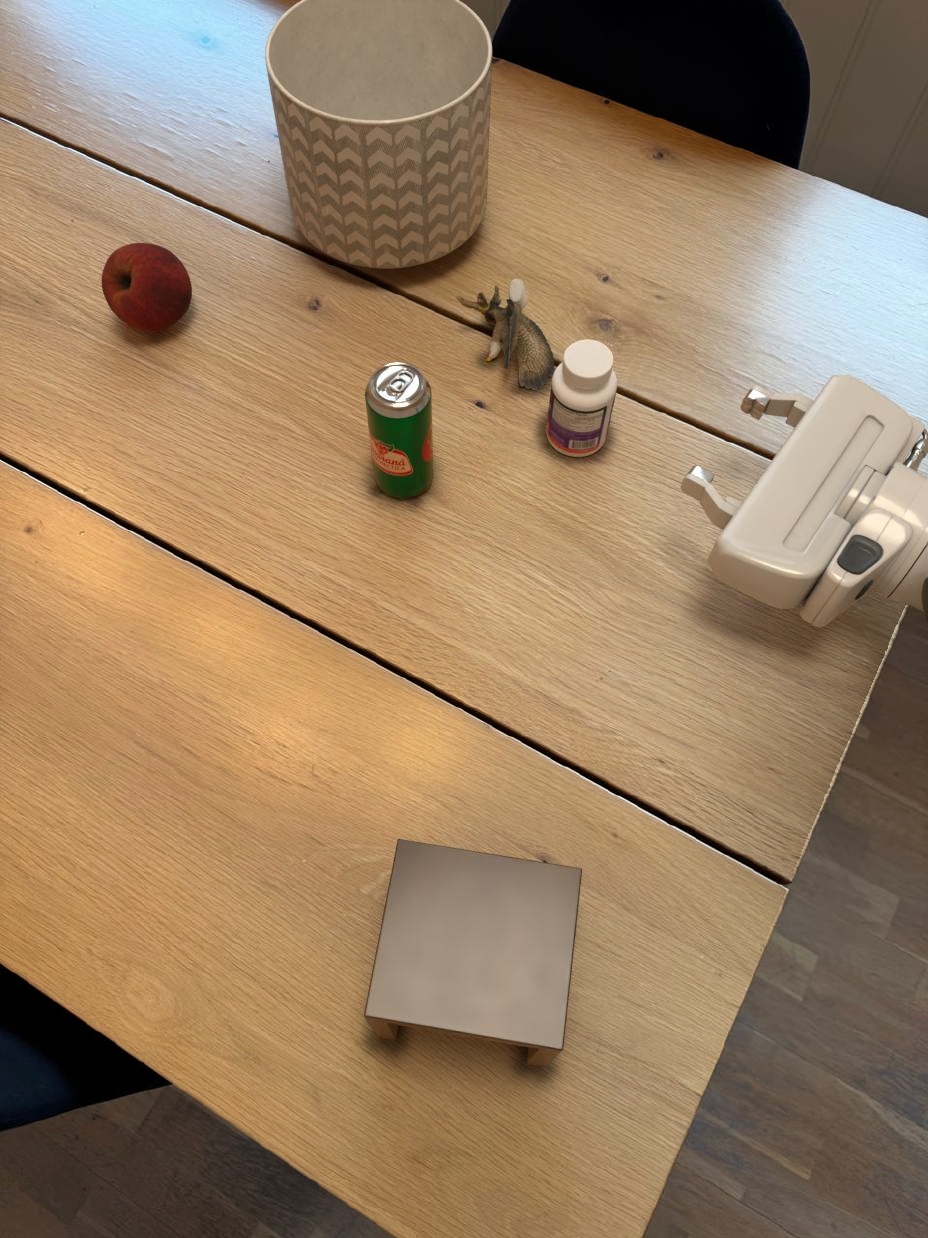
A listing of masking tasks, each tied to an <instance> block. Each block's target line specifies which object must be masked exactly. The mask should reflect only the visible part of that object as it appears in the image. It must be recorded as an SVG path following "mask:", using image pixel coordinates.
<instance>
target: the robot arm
mask: <svg viewBox="0 0 928 1238" xmlns="http://www.w3.org/2000/svg"><path fill="white" fill-rule="evenodd" d="M739 409H740V410H741V411H742V413H743V414H746V415H750V417H752V418H753V419H755V420H757V421H760V420H761V418H762V417H763V416H764V415H766V416H772V417H773V416H775V417H781V418H786V419H785V424H787V425H788V426H790V427H792V428H793V430H792V432H791V433H790V434H789V436H788V437H787V439H785V441H784V443H783V444H782V445H781V447H780V449H779V450H778V452H777V453H776V454H775V455H774V457H773V458H772V460H771V461H770V463H769V464H768V466H767V467H766V468H765V470H764V471H763V472H762V474H761V475H760V477H759V478H758V480H757V481H756V482H755V484H754V485H753V486H752V488H751V489H750V491H749V492H748V494H747V495H746V497H745V498H744V500H743V501H742V502H741V501H739V500H737V499H736V498H734V497H731V496H727V497H726V498H725V500H724V499H723V497H722V496H721V494H720V493H719V492H718V491H717V489H716V488H715V486H714V485H713V484H712V483H713V481H714V478H715V474H714V473H712V472H710V471H709V470H704V469H703V467H701V466H700V465H696V464H694V465H692V467H691V468H690V470H689V471H688V472H687V473H686V475H685V476H684V478H683V479H682V482H681V484H680V490H681V491H682V492H683V493H684V494H686V495H687V496H689V497H691V498H693V499H695V500H696V501H698V502H699V505H700V506H701V508H702V509H703V511H704V513H705V514H706V516H707V517H708V519H709V520H710V522H711V524H712V525H713V526H715V527H717V528H719V529H720V530H721V533H720V534H719V535H718V537H717V538H716V540H715V542H714V544H713V546H712V547H711V550H710V553H709V554H708V558H707V563H708V566H709V568H710V570H711V572H712V575H714V576H715V578H717V579H718V580H720V581H721V582H723V583H724V584H726V585H728V586H729V587H732V588H733V589H735V590H737V591H739V592H740V593H743V594H744V595H746V596H748V597H751V598H753V599H754V600H756V601H758V602H760V603H762V604H765V605H768V606H770V607H773V608H776V609H780V610H792V609H795V608H797V607H799V606H800V609H799V615H800V617H801V618H802V620H804V621H805V622H807V623H808V624H811V625H812V626H813V627H816V628H823V627H825V626H827V625H829V624H830V623H831V622H833V621H834V620H835V619H836V618H838V617H839V616H840V615H841V614H843V613H844V612H846V611H847V610H849V608H851V607H853V606H854V604H856V603H857V602H859V601H860V600H861V599H863V598H864V597H865V596H867V595H868V594H870V592H875V593H876V594H878V595H879V596H882V597H883V598H886V599H887V600H889V601H891V602H895V603H898V604H902V605H906V606H910V607H912V608H914V609H916V610H918V611H920V612H922V613H923V614H924V617H925V619H926V622H927V623H928V476H927V475H925V474H923V473H921V472H919V471H918V470H919V467H920V465H921V463H922V461H923V460H924V459H925V458H926V456H927V455H928V431H927V429H926V425H925V424H924V423H923V422H922V421H921V420H920V419H917V418H916V417H914V416H912V415H911V414H910V415H909V413H908V412H907V411H906V410H905V409H904V408H902V407H901V406H900V405H898V404H897V403H896V402H895V401H893V400H892V399H890V398H889V397H888V396H886V395H885V394H883V393H881V392H880V391H878V390H877V389H875V388H874V387H872V386H870V385H868V384H867V383H865V382H863V381H862V380H860V379H858V378H857V377H854V376H852V375H849V374H834V375H832V376H830V377H829V378H828V380H827V381H826V382H825V384H824V386H823V387H822V388H821V390H820V392H819V393H818V394H817V396H816V397H815V399H814V400H813V399H811V398H809V397H807V396H806V395H804V394H802V393H786V392H785V393H784V392H783V393H782V392H780V393H779V392H774V393H773V392H771V391H769V390H767V389H765V388H763V387H761V386H760V385H752V386H751V388H750V389H749V390H748V392H747V393H746V394H745V396H744V397H743V399H742V401H741V403H740V408H739ZM921 436H922V438H920V437H921Z"/></svg>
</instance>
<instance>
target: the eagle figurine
mask: <svg viewBox="0 0 928 1238" xmlns="http://www.w3.org/2000/svg"><path fill="white" fill-rule="evenodd" d="M526 289H527V288H526V286H525V283H524V282H523V280H521V279H520V278H513V279H511V281H510V282H509V283H508V298H507V299H506V304H507V305H506V307H501V306H500V305H501V304H502V301H503V299H502V298H501V297H500V288H499V286H498V285H497V284H495V285H494V294H493V296H492V298H490V301H489V303H488V300H487V298H486V296H485V294H484V293H483V292H478V293H477V296H476V301H471V300H468V299H465V298H464V297H462V296H460V295H458V296H456V300H457V301H458V302H459V303H460V305H462V306H463V307H465V308H467V309H473V310H474V311H476V312H478V313H480V314H481V315H482V316H484V320H485V321H486V323H488V324H489V325H491V326H492V327H494V328H493V331H492V335H491V342H490V346H489V351H488V357H487V358H486V359H485V361H486V362H491V361H492V360H493V359H495V358H497V357H498V356H499V354H500V352H501V350H502V349H503V354H504V363H503V368H504V370H505V371H507V370H508V369H509V367H510V359H511V354H512V353H513V351H514V352H515V355H516V359H517V363H518V383H519V384H518V385H519V386H520V387H525V389H526V390H533V391H538V389H539V390H542V389H543V388H544V385H547V384H548V383H549V377H550V378H551V377H553V374H552V373H554V372H555V358H554V352H553V351H552V347H551V345H550V344H549V342H548V339H547V338H546V336H545V334H544V332H543V331H542V329H541V328H540V327H539V325H537V323H536V322H535V321H533V320H532V319H531V318H529V317H527V316H526V315H525V314H524V313H523V311H522V310H523V309H525V307H526V306H527V305H528V302H529V300H528V295H527V290H526Z"/></svg>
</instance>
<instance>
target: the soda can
mask: <svg viewBox="0 0 928 1238" xmlns="http://www.w3.org/2000/svg"><path fill="white" fill-rule="evenodd" d="M432 397H433V396H432V387H431V385H430V383H429V381H428V380H427V378H426V377H425V374H424V373H423V372H422V371H421V370H420V369H419V368H417V366H415V365H413V364H411V363H407V362H401V361H397V362H396V361H394V362H389V363H386V364H383V365H381V366H379V367H378V368H377V369H376V370H374V371H373V373H372V374H371V375H370V378H369V381H368V383H367V384H366V387H365V391H364V401H365V409H366V418H367V426H368V434H369V436H368V437H369V442H370V452H371V460H372V469H373V477H374V481H375V484H376V485H377V487H378V488H379V489H380V490H381V491H382V492H383V493H385V494H387V495H389V496H390V497H394V498H399V499H403V498H404V499H405V498H412V497H415V496H418V495H420V494H422V493H423V492H425V491H426V490H427V489H428V488H429V486H430V485H431V484H432V482H433V479H434V473H435V471H434V442H433V441H434V437H433V436H434V435H433V401H432V399H433V398H432Z"/></svg>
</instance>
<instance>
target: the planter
mask: <svg viewBox="0 0 928 1238" xmlns="http://www.w3.org/2000/svg"><path fill="white" fill-rule="evenodd" d="M265 42H266V43H265V48H264V61H265V69H266V74H267V79H268V84H269V91H270V97H271V102H272V109H273V115H274V119H275V125H276V133H277V137H278V142H279V143H278V144H279V149H280V155H281V159H282V166H283V170H284V178H285V185H286V189H287V195H288V201H289V206H290V207H289V208H290V212H291V215H292V219H293V220H294V223H295V226H296V227H297V229H298V231H300V233H301V234H302V236H303V237H304V238H305V239H306V240H307V241H308V242H309V243H310V244H311V245H312V246H314V247H315V248H316V249H318V250H319V251H321V252H322V253H324V254H326V255H327V256H329V257H331V258H334V259H336V260H338V261H340V262H344V263H347V264H349V265H353V266H358V267H363V268H370V269H382V270H383V269H384V270H385V269H389V270H390V269H403V268H409V267H414V266H419V265H423V264H427V263H430V262H432V261H435V260H438V259H441V258H443V257H444V256H447V255H448V254H450V253H452V252H454V251H455V250H457V249H458V248H460V247H461V246H462V245H463V244H465V243H466V242H467V241H468V240H469V239H470V238H471V237H472V236H473V234H474V233H475V232H476V231H477V229H478V227H479V226H480V224H481V223H482V220H483V219H484V216H485V212H486V209H487V205H488V181H489V180H488V179H489V178H488V177H489V155H490V154H489V152H490V151H489V150H490V129H491V128H490V127H491V126H490V125H491V101H492V100H491V98H492V72H493V71H492V70H493V45H492V38H491V35H490V32H489V30H488V28H487V27H486V24H485V22H483V20H482V19H481V18H480V16H479V15H478V14H477V13H476V12H475V11H474V10H473V9H472V8H470V7H469V6H468V5H467V4H465V3H464V2H463V1H461V0H300V1H298V2H297V3H295V4H294V5H292V6H291V7H290V8H289V9H287V11H285V12H284V13H283V14H282V15H281V16H280V17H279V18H278V19H277V21H276V22H275V23H274V25H273V26H272V28H271V30H270V32H269V33H268V36H267V39H266V41H265Z"/></svg>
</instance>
